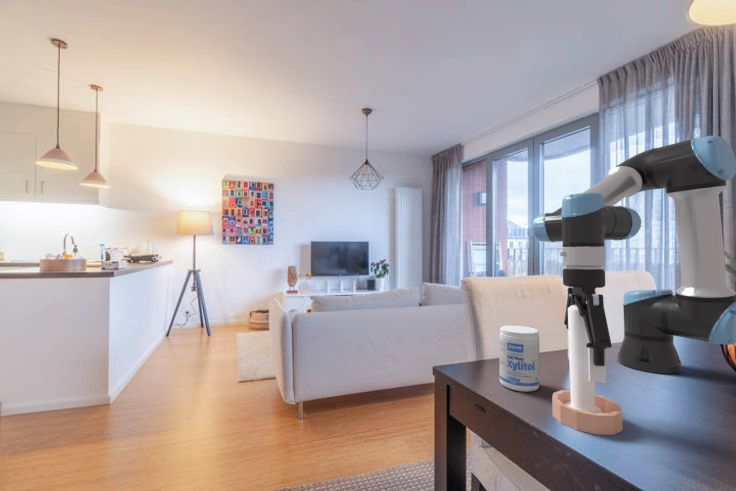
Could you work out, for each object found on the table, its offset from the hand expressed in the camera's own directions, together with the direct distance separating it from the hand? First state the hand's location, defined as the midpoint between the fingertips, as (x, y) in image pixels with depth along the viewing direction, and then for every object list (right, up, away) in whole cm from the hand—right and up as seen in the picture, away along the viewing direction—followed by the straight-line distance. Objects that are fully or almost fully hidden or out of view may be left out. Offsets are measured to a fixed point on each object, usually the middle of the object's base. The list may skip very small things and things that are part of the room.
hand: (585, 370), depth 71 cm
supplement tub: (-6, -11, +18) cm, 22 cm away
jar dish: (0, -10, 0) cm, 10 cm away
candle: (0, -10, +1) cm, 9 cm away
